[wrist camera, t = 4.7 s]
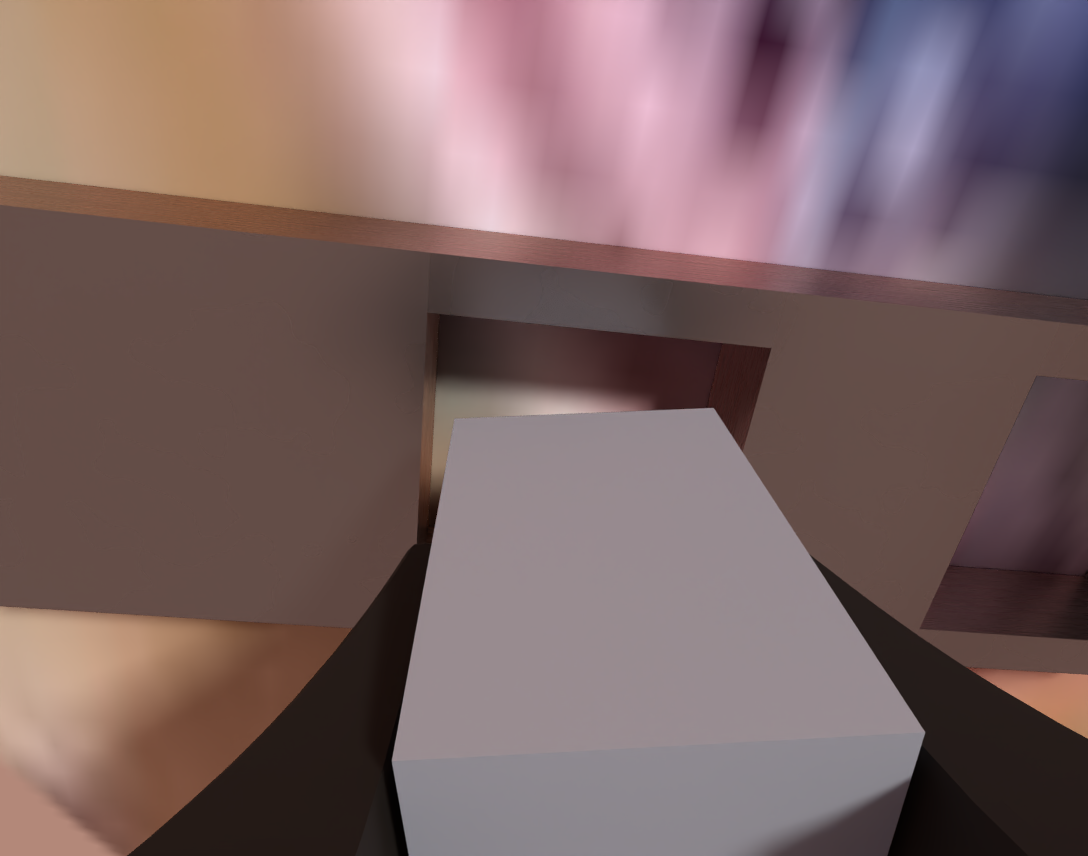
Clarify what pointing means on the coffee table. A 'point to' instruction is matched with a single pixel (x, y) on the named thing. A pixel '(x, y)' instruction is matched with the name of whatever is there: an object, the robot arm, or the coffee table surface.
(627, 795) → the peg
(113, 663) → the coffee table surface
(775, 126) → the coffee table surface
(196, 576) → the rail
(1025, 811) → the robot arm
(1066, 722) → the coffee table surface
